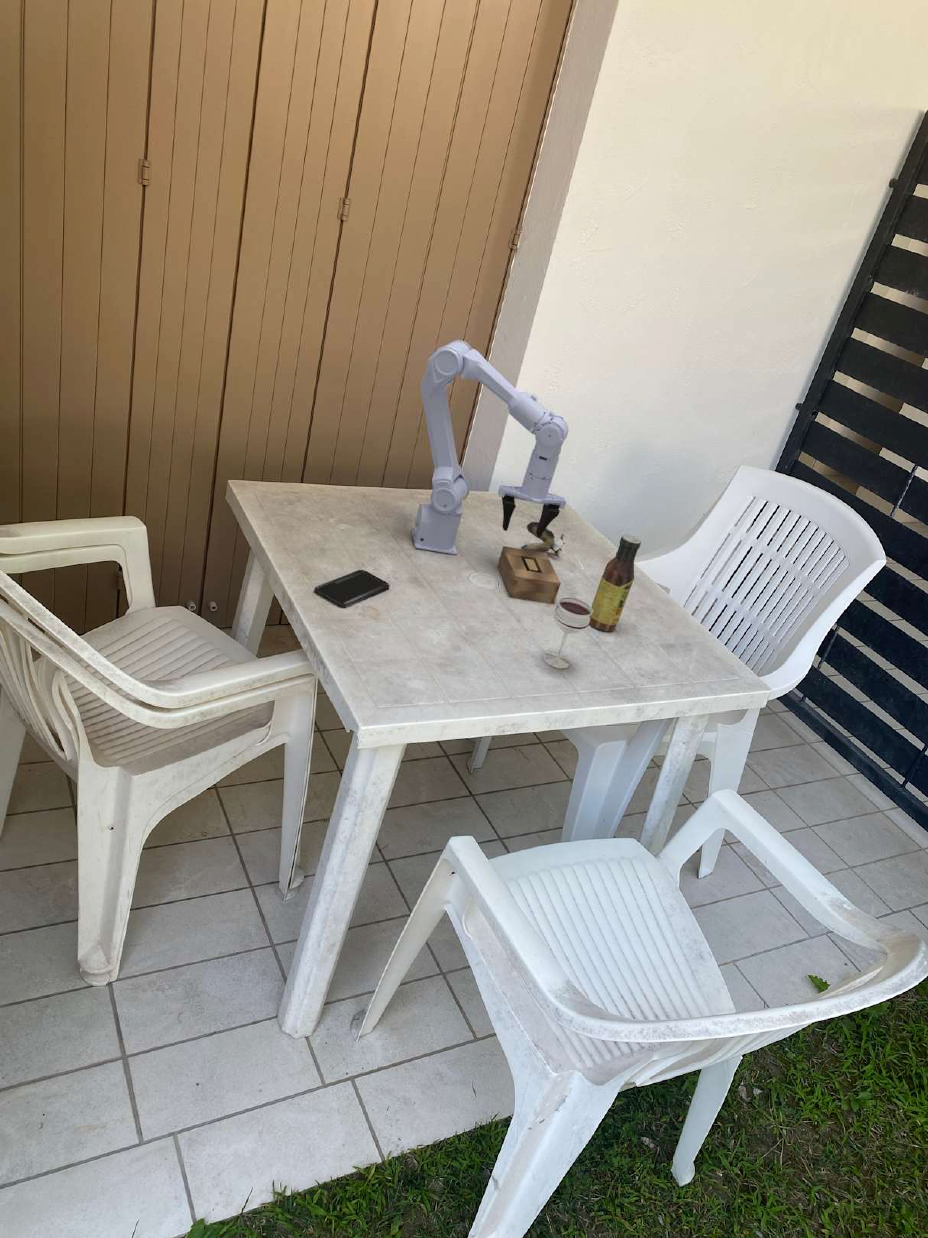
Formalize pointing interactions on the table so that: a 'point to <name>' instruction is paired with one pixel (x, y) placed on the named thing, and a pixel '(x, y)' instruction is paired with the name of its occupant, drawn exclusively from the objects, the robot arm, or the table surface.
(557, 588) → the box
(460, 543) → the table surface
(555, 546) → the eagle figurine
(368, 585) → the phone
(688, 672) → the table surface
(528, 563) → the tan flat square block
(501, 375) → the robot arm
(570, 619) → the wineglass
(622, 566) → the sauce bottle
